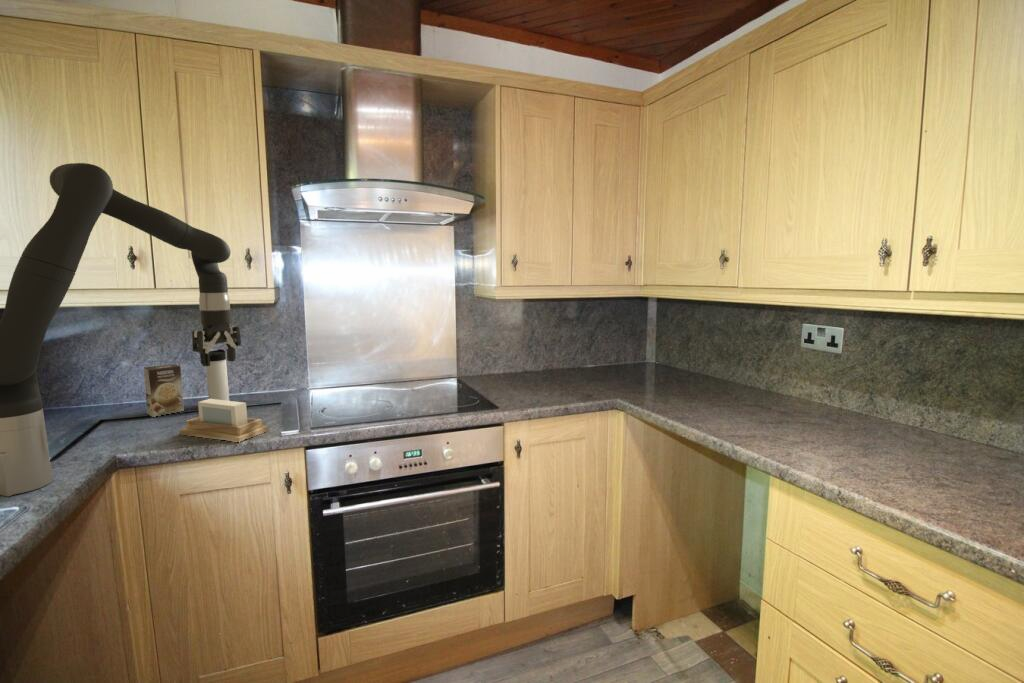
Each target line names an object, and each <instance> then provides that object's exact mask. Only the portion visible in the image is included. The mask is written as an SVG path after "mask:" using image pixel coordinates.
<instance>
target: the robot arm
mask: <svg viewBox="0 0 1024 683" xmlns="http://www.w3.org/2000/svg"><path fill="white" fill-rule="evenodd" d="M49 185H50V187H51V189H52V190H53V192H54V193H55V194H56V195H57V196H58V198H57V201H56V204H55V207H54V210H53V211H52V213H51V215H50V217H49V218H48V220H47V221H46V222H45V223H44V225H43V226H42V227H41V228H39V230H38V231H37V232H36V234H34V236H33V237H32V238H31V239H30V241H29V242H28V243H27V245H26V246H25V248H24V249H23V251H22V253H21V256H20V258H19V260H18V262H17V264H16V266H15V269H14V271H13V274H12V277H11V280H10V283H9V287H8V291H7V294H6V295H7V296H6V300H5V304H4V305H5V306H4V310H3V314H2V316H1V319H0V496H3V497H11V496H13V495H17V494H23V493H27V492H31V491H35V490H38V489H40V488H43V487H46V486H48V485H50V483H52V482H53V471H52V465H51V458H50V451H49V443H48V442H49V441H48V437H47V431H46V430H47V428H46V422H45V416H44V408H43V406H44V405H43V400H42V395H41V390H40V387H39V381H38V380H39V379H38V373H37V367H38V363H39V359H40V355H41V354H40V353H41V350H42V347H43V344H44V340H45V337H46V333H47V331H48V328H49V326H50V324H51V322H52V320H53V318H54V317H55V315H56V313H57V312H58V310H59V308H60V306H61V305H62V303H63V300H64V299H65V297H66V294H67V292H69V291H68V290H69V289H70V286H71V285H72V282H73V280H74V277H75V276H76V273H77V270H78V267H79V265H80V262H81V259H82V257H83V254H84V252H85V250H86V246H87V244H88V242H89V239H90V237H91V233H92V231H93V230H94V227H95V226H96V223H97V221H98V219H99V218H100V217H101V215H102V214H104V215H106V216H109V217H111V218H114V219H116V220H119V221H121V222H123V223H125V224H127V225H130V226H132V227H134V228H136V229H137V230H139V231H142V232H143V233H146V234H148V235H149V236H151V237H154V238H156V239H158V240H159V241H162V242H163V243H166V244H168V245H170V246H172V247H174V248H177V249H180V250H186V251H190V256H191V260H192V263H193V266H194V269H195V271H196V272H195V273H196V275H197V277H198V290H199V295H198V296H199V297H198V298H199V299H198V303H199V316H200V317H199V318H200V325H201V326H202V330H192V332H191V333H192V334H191V340H192V352H195V353H199V357H200V364H201V365H202V367H206V366H210V355H209V351H211V349H212V348H213V347H214V346H215V345H218V344H220V343H221V344H224V346H225V347H226V361H228V362H235V361H236V358H237V357H236V356H237V355H236V349H237V347H238V346H240V347H241V345H242V341H241V331H240V326H236V325H230V324H231V323H232V317H231V314H232V313H231V303H230V302H231V301H230V297H229V289H228V278H227V275H226V274H225V273H224V272H222V271H221V270H220V267H219V264H221V263H223V262H226V261H228V260H229V258H230V256H231V254H232V253H231V252H232V251H231V248H230V246H229V244H228V243H227V242H226V240H224V239H222V238H221V237H219V236H217V235H215V234H213V233H210V232H207V231H204V230H203V229H202V230H201V229H199V228H196V227H193V226H192V225H190V224H188V222H187V223H186V222H185V221H183V220H181V219H179V218H177V217H176V216H173V215H171V214H169V213H167V212H165V211H163V210H161V209H158V208H156V207H153V206H152V205H148V204H145V203H143V202H141V201H138V200H136V199H133V198H131V197H129V196H127V195H125V194H124V193H122V192H120V191H118V190H115V188H114V184H113V181H112V178H111V177H110V175H109V173H107V171H105V169H103V168H101V167H100V166H98V165H95V164H91V163H86V162H76V163H75V162H74V163H72V162H71V163H64V164H60V165H59V166H56V167H55V168H54V169H53V170H52V171H51V172H50V175H49Z"/></svg>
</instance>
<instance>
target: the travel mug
mask: <svg viewBox="0 0 1024 683" xmlns="http://www.w3.org/2000/svg"><path fill="white" fill-rule="evenodd" d="M209 355H210V366H205V369H206V370H205V371H206V383H207V393H208V394H207V396H208V399H217V400H226V401H230V393H229V392H230V391H229V380H228V366H227V353H226V350H225V349H222V348H221V349H220V348H218V349H217V350H210V351H209Z"/></svg>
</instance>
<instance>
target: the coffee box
mask: <svg viewBox="0 0 1024 683" xmlns="http://www.w3.org/2000/svg"><path fill="white" fill-rule="evenodd" d="M181 370H182V369H181V365H178V364H173V363H172V364H165V365H156V366H146V367H145V366H144V367H143V378H144V390H145V401H146V402H145V403H146V412H147V415H148V414H149V417H152V418H156V416H158V417H162V416H161V415H164V416H167V415H166V414H169V415H172V414H171V413H175V414H177V413H176V412H180V413H182V412H181V411H184V412H185V408H184V407H185V406H184V395H183V385H182V384H183V383H182V371H181Z"/></svg>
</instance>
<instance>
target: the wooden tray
mask: <svg viewBox="0 0 1024 683" xmlns="http://www.w3.org/2000/svg"><path fill="white" fill-rule="evenodd" d="M247 422H248V423H247V424H244V425H242V426H234V425H226V424H218V423H210V422H202V421H200V419H199V416H197V417H193V418H190V419H188V420H185V426H186V427H184V428H182V429H179V435H180V434H181V435H180V436H183V435H188V436H187V437H190V436H197V437H205V438H214V439H224V440H232V441H236V442H239V443H238V444H241V443H240V441H242V440H245V439H247V438H251V437H253V438H255V437H254V436H256V435H258V436H260V435H262V434H261V433H263V434H265V433H268V432H269V431H270V428H269V426H268V425H263V424H262V423H263V421H262V419H261V418H252V417H247ZM267 431H268V432H267ZM264 432H265V433H264ZM259 434H260V435H259ZM197 437H196V438H197ZM256 437H257V436H256ZM205 438H204V439H205ZM251 439H252V438H251Z"/></svg>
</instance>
